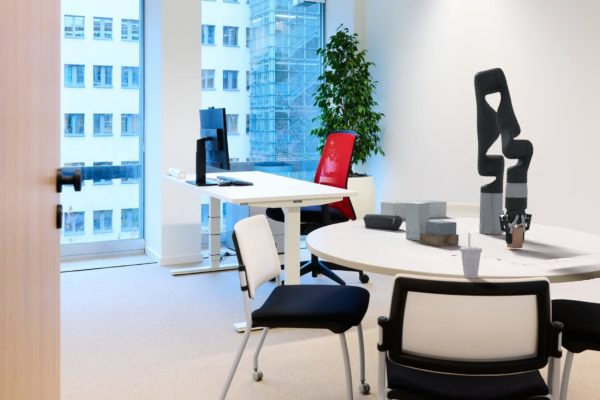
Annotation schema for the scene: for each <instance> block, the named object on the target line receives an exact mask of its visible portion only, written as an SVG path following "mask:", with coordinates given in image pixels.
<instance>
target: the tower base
mask: <svg viewBox="0 0 600 400" xmlns="http://www.w3.org/2000/svg"><path fill="white" fill-rule="evenodd" d="M459 235H460V234H457V233H456V234H455V235H440V236H439V235H433V234H427V233H420V241H419V244H420V245H424V246H430V247H434V248H442V247H443V248H445V247H456V246H457V247H458V246H459V241H460V240H459V238H460V237H459Z"/></svg>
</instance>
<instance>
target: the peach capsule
mask: <svg viewBox="0 0 600 400" xmlns="http://www.w3.org/2000/svg"><path fill="white" fill-rule="evenodd" d="M509 229H510V227H509ZM511 234H512V244H507V243H506V247H507V248H510V249H523V245H524V244H523V228H521V227H517V226H515V227H514V228H513V231H512V233H511Z"/></svg>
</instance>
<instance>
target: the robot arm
mask: <svg viewBox="0 0 600 400" xmlns="http://www.w3.org/2000/svg"><path fill="white" fill-rule="evenodd" d="M473 85H474V87H473V88H474V94H475V96H474V97H475V103H476V105H475V106H476V136H477V137H476V138H477V161H476V162H477V172H478V175H479V176H480V177H489V178H490V177H491V178H492V177H494V178H495V179H494V180H493V181H491V182H489V183H486V184H483V185H481V186H480V189H479V191H480V194H479V195H480V196H479V224H478V225H479V230H478V231H479V233H480V234H484V235H502V234H504V233H505V243H506V245H507V244H512V234H511V233H512V231H513V228H514V227H521V228H523V243H524V241H525V233H526V232H527V231H530V227H531V224H532V223H531V222H532V217H533V215H532V213H531V214H530V213H526V210H527V209H528V193H529V192H528V191H529V190H528V172H529V168H530V165H531V161H532V159H533V156H534V145H533V143H532V142H531V141H530V140H529V139H522V138H521V139H520V138H519V139H517V137H519V136H520V135H521V133H522V128H521V126H520V123H519V121H518V119H517V116H516V113H515V111H514V106H513V102H512V97H511V94H510V93H511V92H510V88H509V84H508V81H507V77H506V75H505V73H504V71H503V69H502V68H501V67H494V68H489V69H485V70H481V71H477V72H476V73H475V74H474V77H473ZM497 93H499V96H500V101H499V105H498V106H497V108H496V109H497V110H495V109H494V108H493V107H492V106H491V105H490V104H489V102H488V101H487V99H486V96H488V95H493V94H497ZM499 137H500V140H501V154H487V153H488V151H489V149H490V148H491V147H492V146H493V145H494V144H495V143H496V141H497V140H498V139H499ZM504 157H505V158H504ZM505 159H507V160H517V162H516V164H515V165H511V166H509V167H507V169H506V179H505V180H506V181H505V182H506V183H505V190H504V175H505V165H506V164H505V161H506V160H505ZM504 191H505V192H504ZM503 202H504V203H503ZM503 205H504V206H503ZM503 207H504V209H506V212H505V211H504V209H503ZM509 227H510V229H509Z"/></svg>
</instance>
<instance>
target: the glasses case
mask: <svg viewBox="0 0 600 400" xmlns="http://www.w3.org/2000/svg"><path fill="white" fill-rule="evenodd" d="M403 221H404V219H402V218H401V217H400V216H398V215H389V214H381V213H366V214H365V215H364V216H363V222H364V227H365V228H366V229H367V228H368V229H377V228H379V229H378V230H389V229H390V230H391V231H399V229H400V227H401V226H402V225H403ZM390 230H389V231H390Z"/></svg>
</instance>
